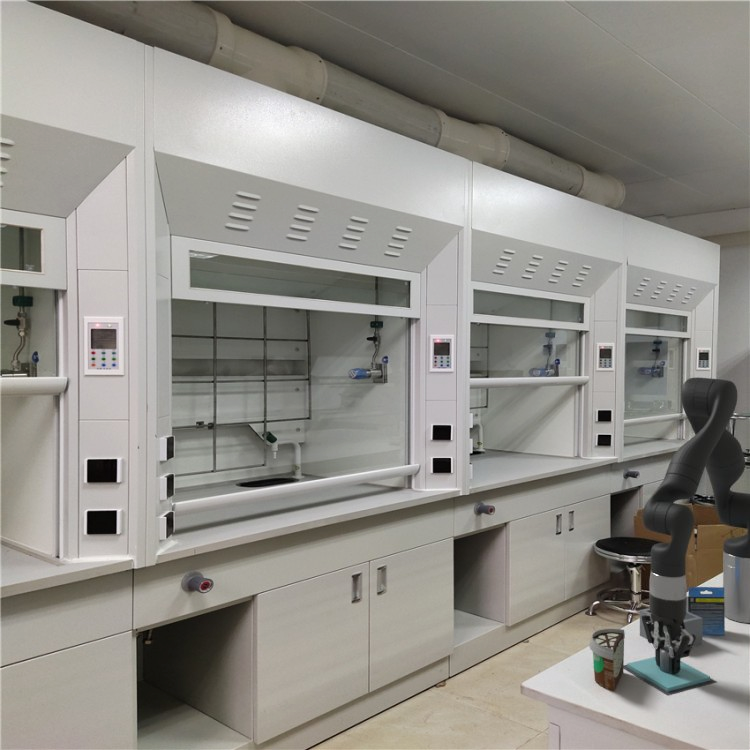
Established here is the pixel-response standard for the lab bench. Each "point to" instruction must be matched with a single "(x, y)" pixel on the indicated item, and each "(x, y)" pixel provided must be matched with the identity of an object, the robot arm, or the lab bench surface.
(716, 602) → the label tape cartridge
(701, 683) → the mat
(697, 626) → the tub
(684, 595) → the robot arm
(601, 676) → the food container
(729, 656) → the lab bench surface
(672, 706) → the lab bench surface
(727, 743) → the lab bench surface
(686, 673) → the lid
